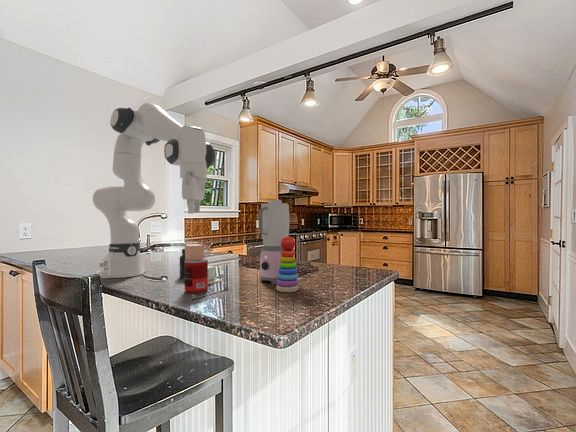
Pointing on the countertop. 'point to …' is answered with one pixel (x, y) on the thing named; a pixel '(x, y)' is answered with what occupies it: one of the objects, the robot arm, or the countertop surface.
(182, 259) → the supplement bottle
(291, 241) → the stacking toy
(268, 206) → the blender
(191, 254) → the block
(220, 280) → the build plate
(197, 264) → the canned food
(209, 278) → the block
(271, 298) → the countertop surface
